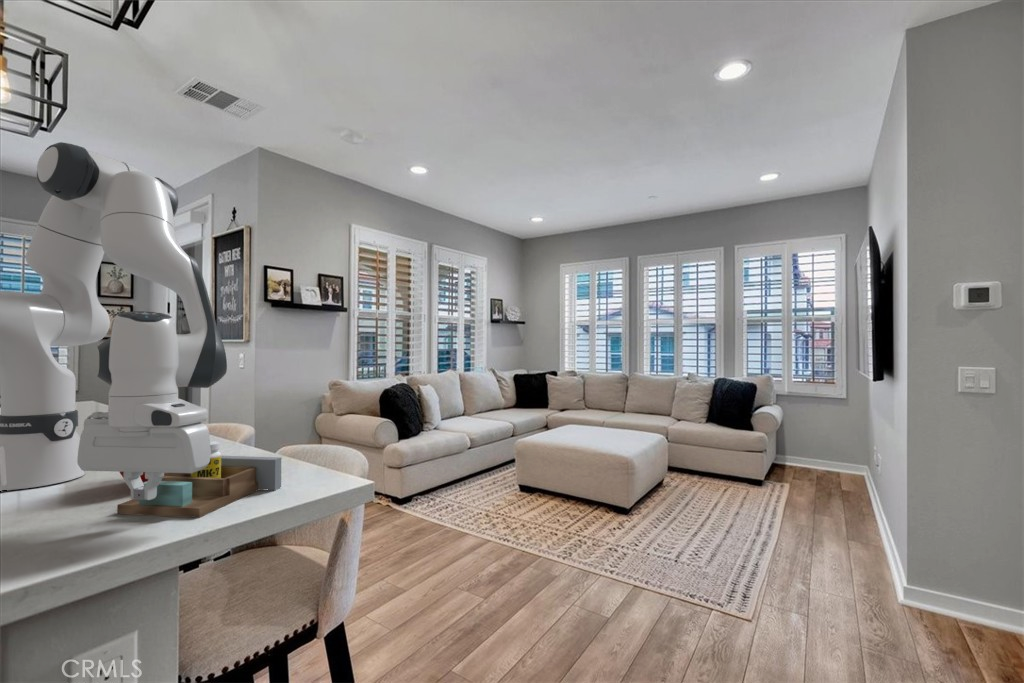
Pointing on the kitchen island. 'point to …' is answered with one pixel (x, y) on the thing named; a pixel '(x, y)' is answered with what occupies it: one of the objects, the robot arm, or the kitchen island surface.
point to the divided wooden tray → (194, 493)
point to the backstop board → (259, 469)
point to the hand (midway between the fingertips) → (143, 498)
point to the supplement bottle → (211, 464)
